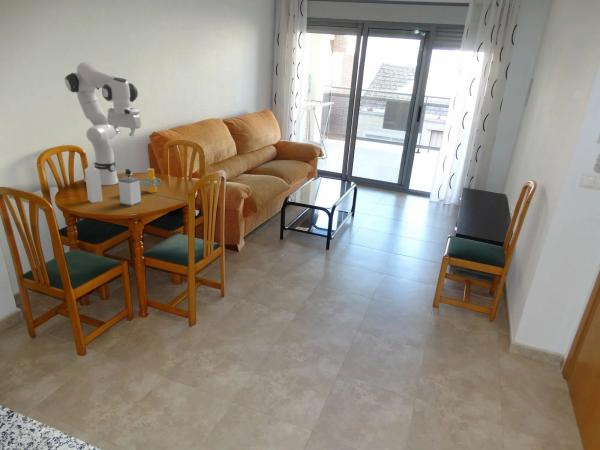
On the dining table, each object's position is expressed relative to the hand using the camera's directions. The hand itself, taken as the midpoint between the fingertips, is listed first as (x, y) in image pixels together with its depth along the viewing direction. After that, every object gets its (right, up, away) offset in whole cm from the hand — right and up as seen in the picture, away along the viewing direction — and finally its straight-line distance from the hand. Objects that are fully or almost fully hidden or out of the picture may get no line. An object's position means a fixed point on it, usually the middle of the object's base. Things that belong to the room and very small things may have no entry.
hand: (124, 135), depth 231 cm
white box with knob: (-2, -37, +17) cm, 40 cm away
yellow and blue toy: (+1, -29, +38) cm, 48 cm away
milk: (-24, -36, +15) cm, 46 cm away
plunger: (-3, -36, +14) cm, 39 cm away
